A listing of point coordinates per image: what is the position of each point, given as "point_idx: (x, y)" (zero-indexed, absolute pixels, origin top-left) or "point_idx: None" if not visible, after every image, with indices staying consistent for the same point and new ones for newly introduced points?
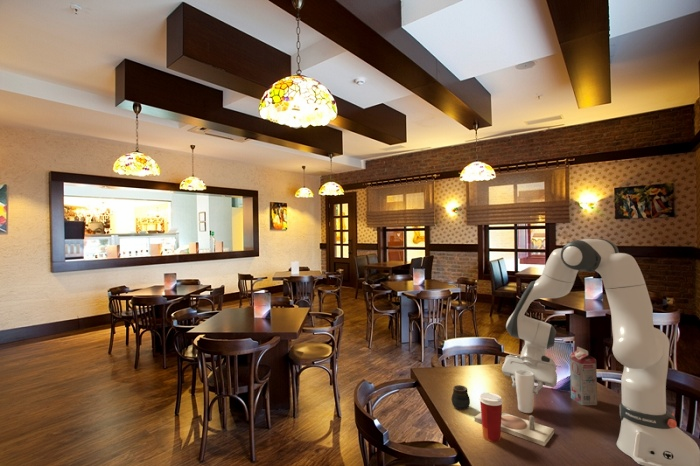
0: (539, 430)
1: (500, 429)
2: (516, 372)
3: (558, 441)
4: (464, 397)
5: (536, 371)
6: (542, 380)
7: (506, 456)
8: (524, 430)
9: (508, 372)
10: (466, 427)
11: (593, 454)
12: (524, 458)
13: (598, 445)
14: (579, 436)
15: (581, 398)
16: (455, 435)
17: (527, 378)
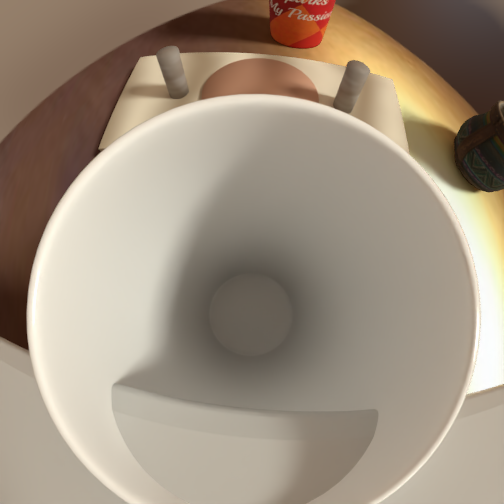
0: (151, 101)
1: (269, 6)
2: (448, 332)
3: (100, 116)
4: (480, 118)
5: (30, 500)
6: (1, 340)
7: (234, 4)
8: (205, 71)
9: (501, 387)
10: (378, 54)
11: (34, 123)
12: (194, 13)
13: (9, 180)
14: (37, 198)
15: None
16: (370, 24)
17: (155, 155)
